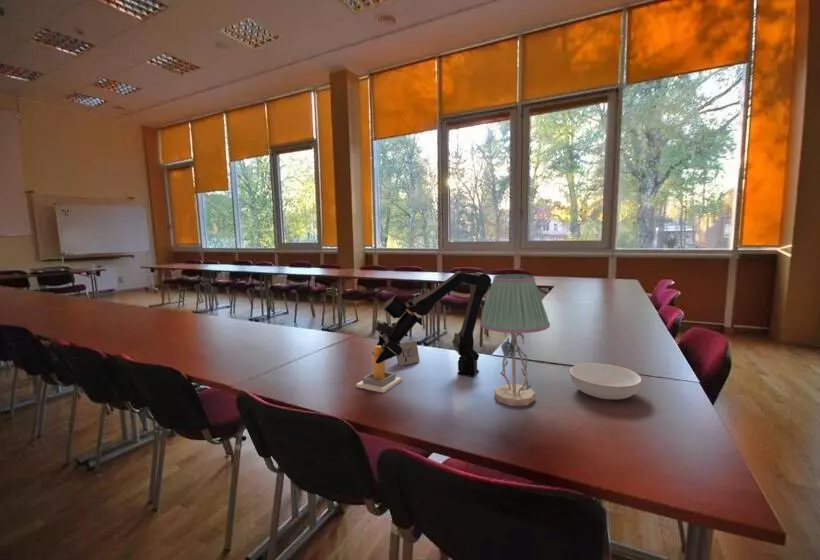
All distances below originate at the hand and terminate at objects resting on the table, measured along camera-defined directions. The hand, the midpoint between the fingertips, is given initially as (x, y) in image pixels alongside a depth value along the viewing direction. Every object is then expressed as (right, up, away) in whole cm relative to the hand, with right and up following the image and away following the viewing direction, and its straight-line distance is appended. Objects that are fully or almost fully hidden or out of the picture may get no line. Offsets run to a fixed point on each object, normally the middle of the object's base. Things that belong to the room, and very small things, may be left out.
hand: (374, 358), depth 142 cm
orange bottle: (+2, -8, +1) cm, 9 cm away
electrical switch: (+12, -7, +23) cm, 27 cm away
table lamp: (+47, -10, -14) cm, 50 cm away
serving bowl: (+77, -9, -14) cm, 78 cm away
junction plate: (+2, -10, +2) cm, 10 cm away
